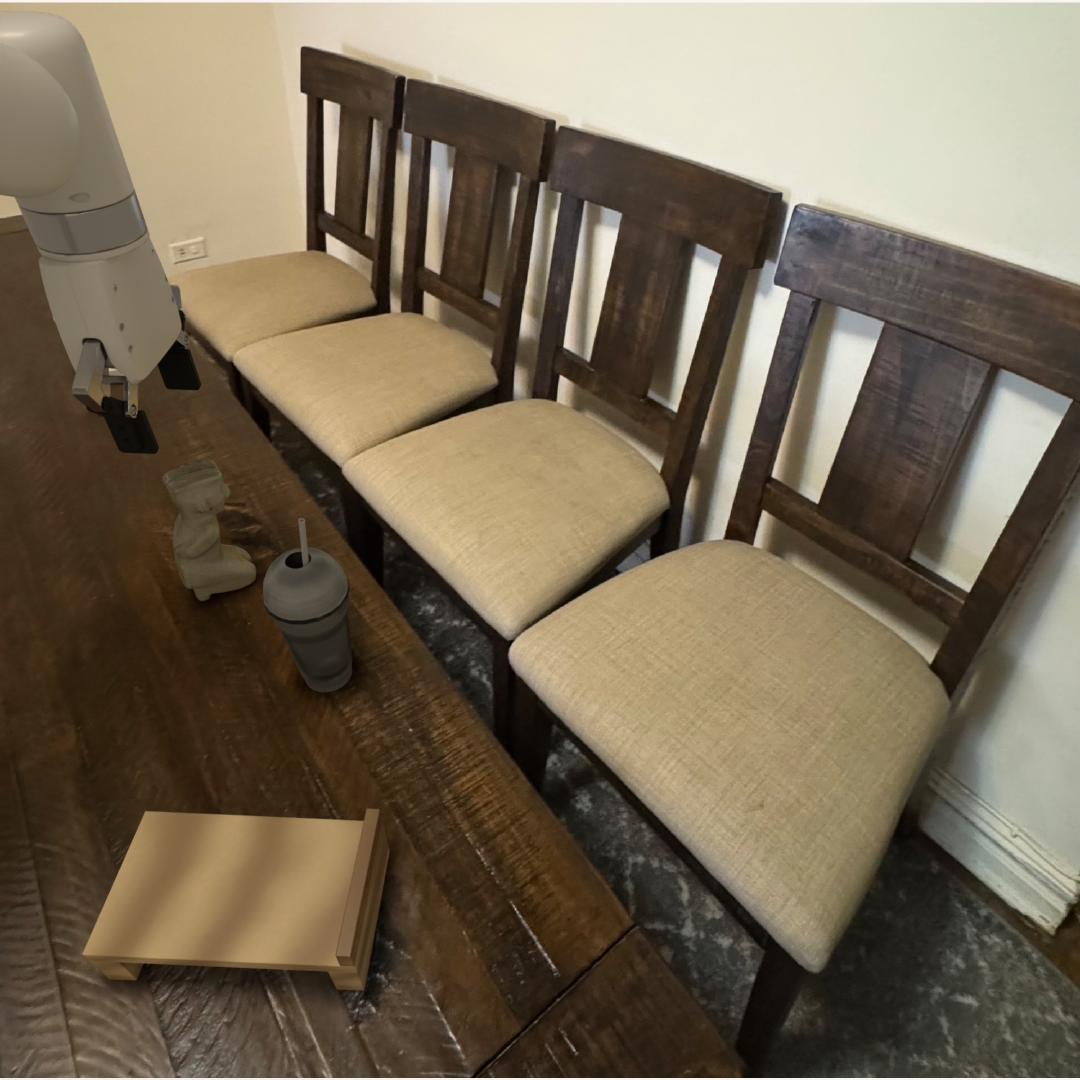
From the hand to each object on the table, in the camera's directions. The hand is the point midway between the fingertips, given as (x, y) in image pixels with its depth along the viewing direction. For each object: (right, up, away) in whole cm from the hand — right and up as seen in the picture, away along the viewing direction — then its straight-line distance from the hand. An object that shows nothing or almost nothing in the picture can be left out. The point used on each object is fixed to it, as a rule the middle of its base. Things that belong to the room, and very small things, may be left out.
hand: (163, 418), depth 66 cm
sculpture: (-1, -16, +14) cm, 21 cm away
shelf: (+12, -39, -10) cm, 42 cm away
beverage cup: (+13, -24, +6) cm, 28 cm away
